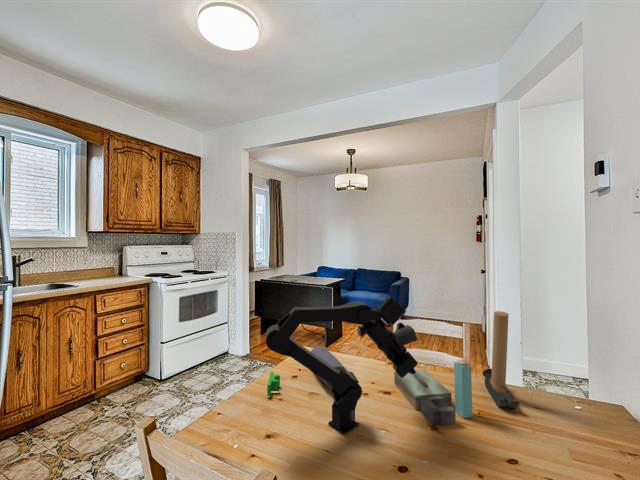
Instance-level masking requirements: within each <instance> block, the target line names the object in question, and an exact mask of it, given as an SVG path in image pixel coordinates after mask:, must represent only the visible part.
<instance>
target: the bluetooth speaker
mask: <svg viewBox="0 0 640 480" xmlns="http://www.w3.org/2000/svg"><path fill="white" fill-rule="evenodd" d="M310 352H312V353H313V354H315V355H316V356H317V357H319V358H320V359H322V360H323V361H325V362H326V363H328V364H329V365H330V366H332V367H333V368H335V369H339V370H341V368H342V366H344V365H343V364H342V363H341V362H340V361H339V360H338V358H336V356H335V355H334V354H332V353H331V352H330V351H329V350H328V349H327V348H326V347H323V346H319V345H318V346H315V347H313V348H312V349H311V351H310ZM319 378H320V380H322V381H323V383H324V384H325V385H326V386H327V387H328V388H329V389H330V390H332V388H333V387H332V385H331V384H330V383H328V382H327V381H325V380H324V379H322V378H321V377H319Z"/></svg>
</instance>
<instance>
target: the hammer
mask: <svg viewBox="0 0 640 480" xmlns="http://www.w3.org/2000/svg"><path fill="white" fill-rule="evenodd" d="M509 315H510V314H509V313H508V312H505V311H500V310H499V311H498V310H495V311H494V312H493V319H492V321H493V322H492V323H493V327H492V328H493V329H492V348H491V350H492V352H491V354H492V355H491V368H487V369H484V370H483V371H482V375H483V377H484V385H485V387H486V389H487V392H488V393H489V395H490V397H491V398H492V400H493V402H494V403H495V405H496V406H497V407H500V408H501V407H502V408H510V409H517V407H518V406H519V404H520V401H515V399H514V398H513V395H512V394H511V392H510V390H509V389H508V387H507V384H506V382H507V381H506V380H507V359H508V358H507V357H508V336H509V335H508V334H509V333H508V331H509Z"/></svg>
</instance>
